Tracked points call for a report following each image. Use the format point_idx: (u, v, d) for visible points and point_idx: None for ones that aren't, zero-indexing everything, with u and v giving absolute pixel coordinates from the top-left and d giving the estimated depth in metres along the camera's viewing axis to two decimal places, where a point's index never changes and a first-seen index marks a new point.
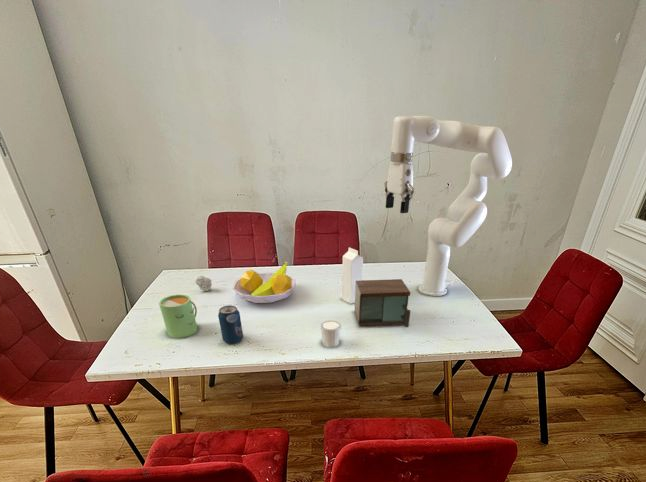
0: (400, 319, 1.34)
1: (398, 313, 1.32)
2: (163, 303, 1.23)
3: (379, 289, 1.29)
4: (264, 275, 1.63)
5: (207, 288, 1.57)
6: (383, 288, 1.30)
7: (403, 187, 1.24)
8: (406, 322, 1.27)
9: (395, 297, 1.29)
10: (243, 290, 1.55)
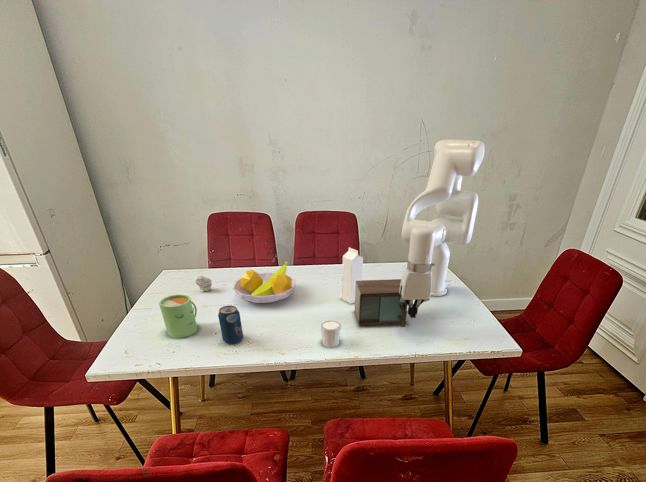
0: (397, 319, 1.34)
1: (395, 313, 1.32)
2: (163, 303, 1.23)
3: (379, 289, 1.29)
4: (264, 275, 1.63)
5: (207, 288, 1.57)
6: (383, 288, 1.30)
7: (430, 291, 1.20)
8: (403, 322, 1.27)
9: (392, 297, 1.28)
10: (243, 290, 1.55)
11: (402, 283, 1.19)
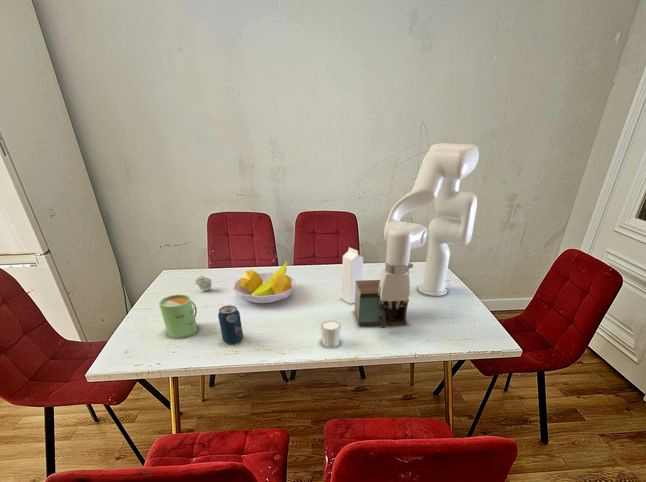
0: (378, 320, 1.33)
1: (375, 314, 1.32)
2: (163, 303, 1.23)
3: None
4: (264, 275, 1.63)
5: (207, 288, 1.57)
6: None
7: (409, 293, 1.20)
8: (382, 323, 1.26)
9: (372, 298, 1.28)
10: (243, 290, 1.55)
11: (380, 284, 1.18)
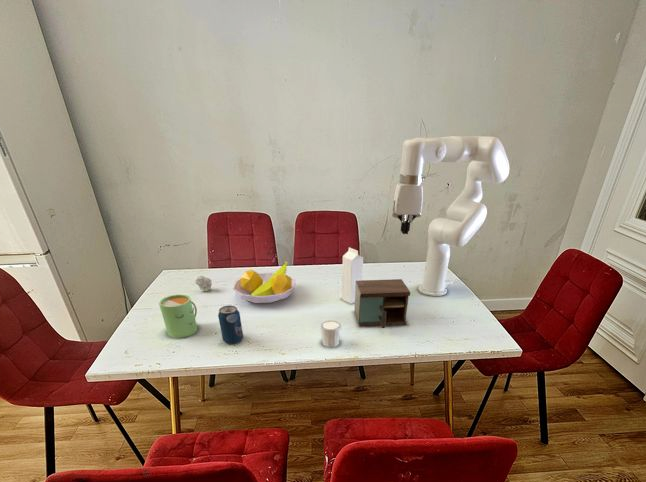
0: (378, 320, 1.33)
1: (375, 314, 1.32)
2: (163, 303, 1.23)
3: (379, 289, 1.29)
4: (264, 275, 1.63)
5: (207, 288, 1.57)
6: (383, 288, 1.30)
7: None
8: (382, 323, 1.26)
9: (372, 298, 1.28)
10: (243, 290, 1.55)
11: (395, 197, 1.27)
